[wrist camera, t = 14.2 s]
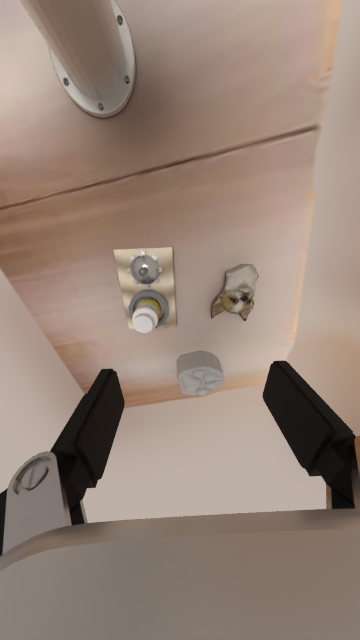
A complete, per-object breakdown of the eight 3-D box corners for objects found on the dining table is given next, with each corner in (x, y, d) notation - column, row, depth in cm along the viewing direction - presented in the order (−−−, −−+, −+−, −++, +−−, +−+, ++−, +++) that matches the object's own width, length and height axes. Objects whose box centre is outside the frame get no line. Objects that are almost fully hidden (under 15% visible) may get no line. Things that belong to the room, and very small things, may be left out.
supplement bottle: (148, 320, 43) (140, 341, 34) (134, 303, 41) (123, 321, 32) (165, 309, 42) (162, 328, 33) (152, 292, 40) (145, 307, 30)
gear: (125, 251, 36) (119, 252, 32) (160, 250, 36) (159, 251, 32) (131, 287, 39) (126, 291, 35) (163, 285, 39) (162, 290, 35)
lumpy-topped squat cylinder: (175, 355, 50) (175, 375, 42) (216, 347, 49) (224, 367, 42) (181, 379, 55) (183, 401, 47) (219, 372, 54) (227, 394, 46)
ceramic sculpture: (282, 268, 31) (256, 333, 38) (261, 261, 39) (243, 316, 46) (228, 263, 30) (213, 329, 38) (218, 257, 38) (207, 313, 45)
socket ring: (128, 290, 39) (125, 293, 37) (167, 288, 39) (166, 291, 37) (134, 324, 43) (132, 329, 41) (169, 323, 44) (169, 327, 41)
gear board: (115, 249, 37) (113, 249, 35) (172, 247, 37) (172, 247, 35) (130, 326, 45) (129, 328, 44) (176, 324, 45) (176, 326, 44)
